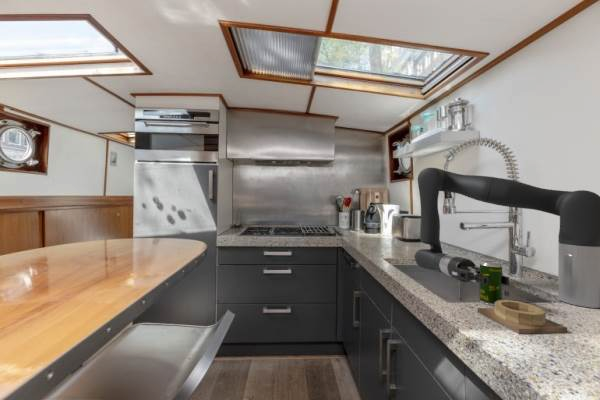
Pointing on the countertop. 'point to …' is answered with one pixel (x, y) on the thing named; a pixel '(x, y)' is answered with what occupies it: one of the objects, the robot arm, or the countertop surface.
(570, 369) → the countertop surface
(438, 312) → the countertop surface
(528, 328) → the socket board
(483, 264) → the beer can
